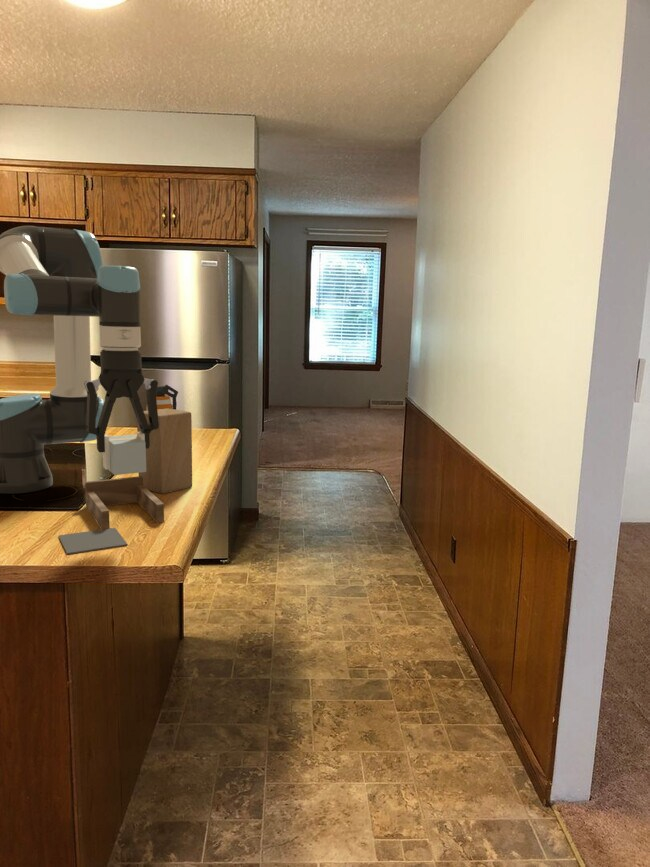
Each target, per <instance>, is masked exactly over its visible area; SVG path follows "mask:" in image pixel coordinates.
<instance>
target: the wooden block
mask: <svg viewBox="0 0 650 867" xmlns="http://www.w3.org/2000/svg"><path fill="white" fill-rule="evenodd" d="M143 411H144V414H145V417H146V420H147V422H148V424H149V416H148V411H147V410H143ZM157 411H158V422H159V428H158V429H154V430H152V431H151V433H150V434H149V438H150V446H149V448H147V449H146V472H141V473H138V476H142V477H143V486H145V487H146V488H147V489H148V490H149V491H150V492H154V493H157V494H161V495H163V494H167V493H172V492H175V491H179V490H184V489H190V488H192V487H193V444H192V443H193V439H192V438H193V436H192V435H193V433H192V431H193V430H192V428H193V427H192V426H193V425H192V422H193V421H192V412H191V411H184V410H180V409H176V410H175V409H173V408H172V409H169V408H166V409H157ZM136 428H137V431H136V433H137V432H141V429H140V426H139V423H138V420H137V419H136Z"/></svg>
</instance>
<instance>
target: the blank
mask: <svg viewBox="0 0 650 867" xmlns="http://www.w3.org/2000/svg"><path fill="white" fill-rule="evenodd" d="M109 447H110V469H109V470H108V471H109V472H110V473H112V475H113V476H120V475H121V476H122V475H128V474H131V475H132V474H139V473H141V472H146V445H145V441H143V440H142V439H141V438H139V437H137V435H135V434H125V435H114V436H113V435H112V436H109Z"/></svg>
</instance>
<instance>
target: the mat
mask: <svg viewBox="0 0 650 867" xmlns="http://www.w3.org/2000/svg"><path fill="white" fill-rule="evenodd" d="M58 538H59V540H60V543H61V545H62V547H63V549H64V552H65V553H66V555H74V554H75V555H76V554H80V553H88V552H94V551H100V550H106V549H113V547H115V548H121V547H127V545H128V543H127V541H126V540H125V538H124V537H123V536H122V535H121V533H120V532H119V530H117V528H116V527H110V528H109V529H95V530H88V531H87V530H86V531H81V532H73V533H67V534H66V533H65V534H58Z"/></svg>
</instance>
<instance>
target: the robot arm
mask: <svg viewBox="0 0 650 867" xmlns="http://www.w3.org/2000/svg"><path fill="white" fill-rule="evenodd" d="M0 273H1V274H3V275H5V277H4V280H3V294H4V297H3V298H4V303H5V309H6V311H7V312H8V313H9V314H12V315H13V314H14V315H23V316H27V317H28V316H29V317H30V316H53V335H54V337H53V338H54V362H55V363H54V365H55V366H54V368H55V386H54V387H53V388H52V389H51V390H50V391H49V399H43V398H42V396H41V395H40V394H39V393H29V394H19V395H12V396H7V397H6V396H5V397H3V398H2V397H1V398H0V494H12V495H13V494H24V493H33V492H37V491H42V490H45V489H48V488H50V487H52V486H53V484H54V480H53V474H52V471H51V469H50V467H49V464H48V461H47V460H46V457H45V449H44V448H45V447H44V446H45V445H56V444H70V443H71V444H72V443H82V444H83V443H84V442H91V441H96V449H97V452H98V453H102V467H103V469H104V470H106V471H107V470H108V471H109V469H110V447H109V437H110V436H109V435H108V434H106V431H107V428H108V425H109V421H110V419H111V414H112V412H113V408H114V404H115V403H116V401H117V399H120V398H123V397H124V398H128V400H129V401H130V404H131V406H132V409H133V411H134V412H133V413H134V414H135V417H136V421H137V420H138V423H139V426H140V429H141V432H137V431H136V436H137V437H139V438H141V439H142V440H143V441H145V445H146V449H147V448H149V446H150V438H149V434H150V433H151V431H152V430H154V429H158V428H159V422H158V411H157V401H156V389H157V386H159V382H158V380H156V379H152V378H150V379H149V378H146V377H145V376H144V374H143V371H142V370H143V369H142V368H143V366H142V352H141V351H140V349H139V348H140V347H142V339H141V338H142V336H141V334H142V333H141V331H142V330H141V287H142V286H141V283H140V273H139V270H138V269H137V268H136V267H134V266H133V267H132V266H127V265H111V264H110V265H108V264H107V265H103V257H102V252H101V247H100V245H99V242H98V240H97V238H96V236H95V235H94V234H93V233H92V232H90V231H85V230H81V229H80V230H79V229H75V228H73V229H70V228H59V227H45V226H37V225H36V226H35V225H21V226H17V227H13V228H12V227H11V228H10V229H8V230H6V231H4V232H2V233H1V234H0ZM91 317H92V318H93V317H98V319H99V320H98V321H99V346H100V347H101V348H102V349H101V350H100V354H99V355H100V356H99V357H100V373H99V376H98V378H97V379H92V366H91V364H92V363H91V362H92V361H91V360H92V359H91V357H92V356H91V322H90V321H91V320H90V318H91ZM100 385H101V386H102V388H103V389H104V391H105V392H106V393H105V397H104V399H103V398H102V397H100V396H98V391H99V386H100ZM142 385H144V389H145V390H146V392H145V394H146V402H147V403H146V406H147V405H148V416H149V424H148V422H147V420H146V417H145V414H144V411H145V410H144V409H143V406H142V403H141V400H140V396H139V393H138V391H139V389H140V388H141V387H142Z"/></svg>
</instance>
